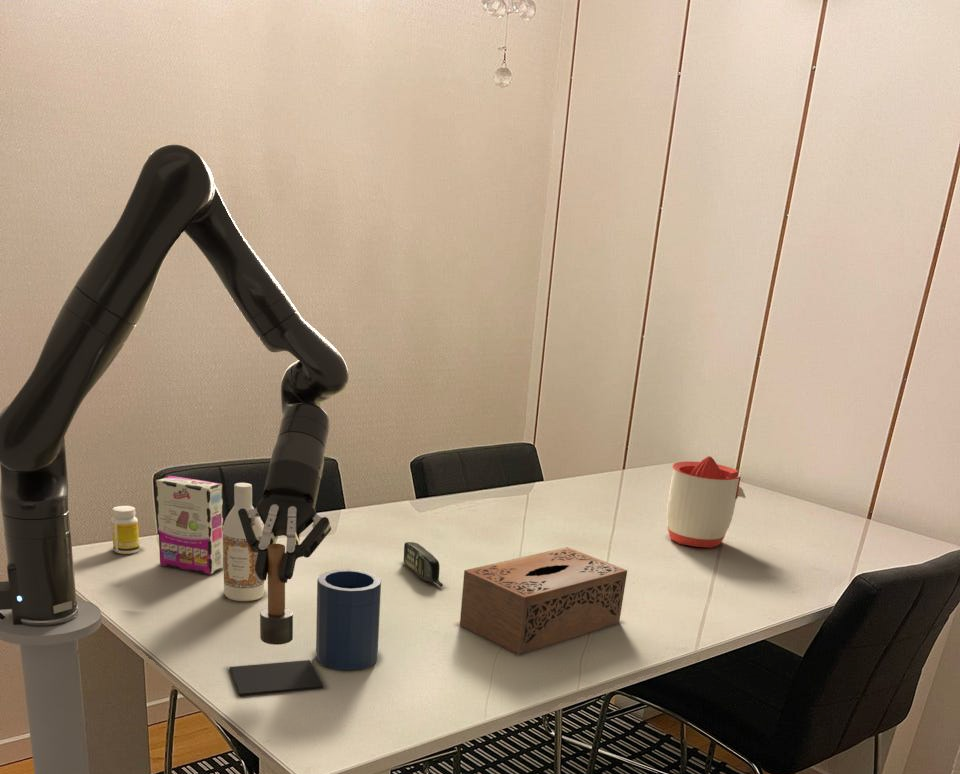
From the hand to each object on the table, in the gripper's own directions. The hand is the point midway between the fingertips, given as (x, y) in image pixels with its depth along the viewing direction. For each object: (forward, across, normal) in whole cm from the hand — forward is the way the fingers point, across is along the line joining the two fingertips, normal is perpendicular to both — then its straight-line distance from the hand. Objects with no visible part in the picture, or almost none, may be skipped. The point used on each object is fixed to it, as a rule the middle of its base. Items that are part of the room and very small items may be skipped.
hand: (272, 578), depth 134 cm
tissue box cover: (-13, +38, +36) cm, 54 cm away
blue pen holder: (+3, +8, +20) cm, 22 cm away
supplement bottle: (-23, -43, +46) cm, 67 cm away
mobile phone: (-26, +15, +49) cm, 57 cm away
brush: (+6, 0, +8) cm, 10 cm away
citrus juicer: (-56, +74, +80) cm, 122 cm away
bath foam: (-12, -14, +35) cm, 40 cm away
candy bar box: (-19, -28, +43) cm, 55 cm away
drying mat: (+10, 0, +13) cm, 17 cm away
